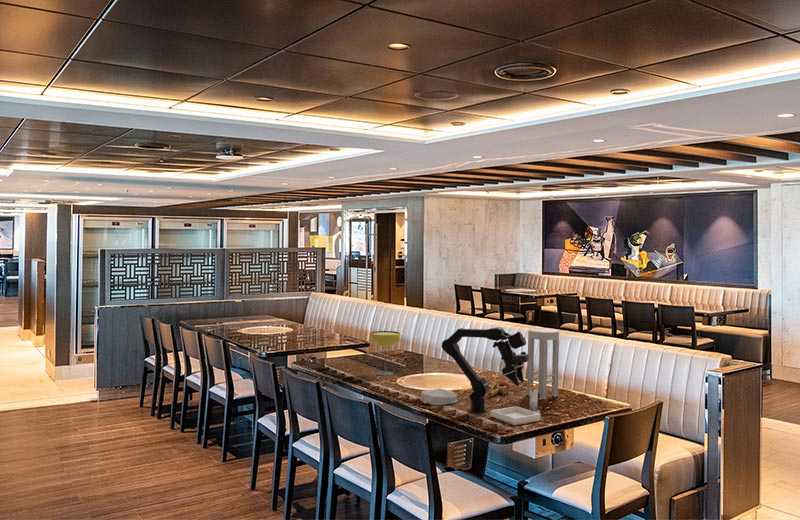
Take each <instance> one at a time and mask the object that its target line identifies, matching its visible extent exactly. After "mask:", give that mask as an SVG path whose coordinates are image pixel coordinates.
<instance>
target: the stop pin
mask: <svg viewBox="0 0 800 520" xmlns="http://www.w3.org/2000/svg"><path fill="white" fill-rule="evenodd" d="M538 386H539V383H533V384H530V396H529V409H527V410H530V411H533V412H536V413H539V414H541V411H540V410H539V409H538V397H539V395H538V394H539V393H538Z"/></svg>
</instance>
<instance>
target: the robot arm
mask: <svg viewBox="0 0 800 520" xmlns="http://www.w3.org/2000/svg"><path fill="white" fill-rule="evenodd" d="M462 338H484V339H487V340H491V341H494V342H493V345H492V348H495V347H496V348H497V349H498V352H499V354H500V356H501V357H500V359H501V360H502V361H503V362H504V367H503V368H502V369H501V373H502V375H503V376H504V377H506V378H508V380H510V382H512V384H514V385H515V386H516V387H519V386H520V383H519V381H520V382H521V383H524V382H525V379H524V374H523V368H524V366H525V363H528V357H529V356H528V353H526V351H521V353H518V354H517V353H516V352H515V351H513V349H514V350H517V349H519V348H522V347H524V346H526V345H527V340H526V338H525V337H524V335H523V334H522V333H521V331H518V332H516V333H513V334H509V333H508V332H506V331H505V329H504V328H503V327H500V326H497V327H492V328H486V329H485V328H484V329H483V328H462V327H461V328H458V329H456V331H455V332H453V333H452V334H451V335H450V336H449V337H448V338H447V339H444V340H442V342H441V348H442V350H443V351H444V352H445V353H446V354H447V355H449V356H450V357H451V358H452V359H453V360H454V361H455V363H456V364H457V365H458V367H459V368H460V369H461V371H462V373H463V374H464V375H465V376H466V378H467V379H468V381H469V382H470V386H471V389H472V390H473V392H471V393H470V394H469V400H470V408H468V411H469V412H472V413H475V414H480V413H486V412H487V410H486V409H485V399H484V398H485V397H486V395H488V392H490V385H489V383H488V381H487V380H486V378H485V377H484V376H483V377H480V376H478V375H477V373H476V371H475V370H474V369H473V368H472V366H471V365H470V364H469V362H468V361H467V359H466V358H465V357H464V355H463V354H462V352H461V350H460V346H459V342H460V341H461V340H462Z"/></svg>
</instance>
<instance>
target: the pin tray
mask: <svg viewBox="0 0 800 520" xmlns="http://www.w3.org/2000/svg"><path fill="white" fill-rule="evenodd" d="M541 415H542V414H541V413H540V414H539V413H536V412H533V411H530V410H528V409H527V408H524V407H520V406H511V407H509V406H508V407H505V408H498V409H492V410H491V409H490V418H492V417H494V418H493V419H495V418H496V420H498V419H499V420H498V421H501V422H503V421H504V423H506V424H509V425H511V424H512V426H518V425H519V426H520V425H523V424H524V425H525V424H529V423H534V422H540V421H541V417H542V416H541Z"/></svg>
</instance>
